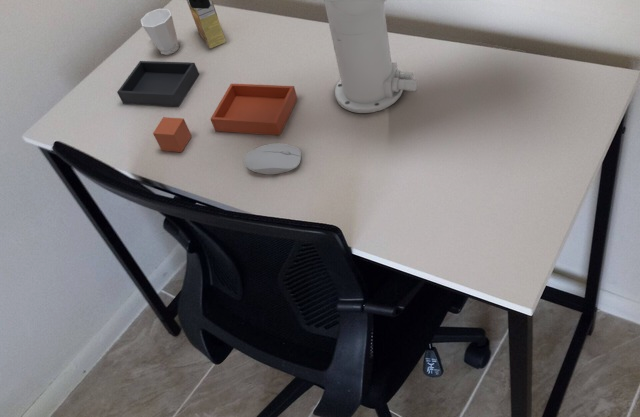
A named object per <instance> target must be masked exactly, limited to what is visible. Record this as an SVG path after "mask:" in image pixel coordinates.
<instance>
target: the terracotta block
mask: <svg viewBox="0 0 640 417" xmlns="http://www.w3.org/2000/svg"><path fill="white" fill-rule="evenodd" d="M152 134H153V137H154V139H155V141H156V143H157V144H158V146H159V148H160V150H161V151H165V152H175V153H183V152H184V150H185V148H186V146H187V145H188V142H189V141H190V140H191V138H192V133H191V131H190V129H189V127H188V124H187V123H186V121H185V119H184V118H181V117H166V116H164V117H162V118H161V120H160V121H159V123H158V125H157V126H156V127H155V129H154V130H153V132H152Z"/></svg>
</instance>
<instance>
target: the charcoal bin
mask: <svg viewBox="0 0 640 417" xmlns="http://www.w3.org/2000/svg"><path fill="white" fill-rule="evenodd" d="M199 76H200V71H199V70H198V68H197V65H196V62H186V61H184V62H183V61H155V60H152V61H151V60H139V61H138V63H137V64H136V65H135V67H134V68H133V69H132V71H131V72H130V74H129V75H128V77H126V79H125V81H124V82H123V84H121V86H120V87H119V89H118V90H117V91H116V92H117V96H119V99H120V101H121V102H122V104H124V105H141V106H143V105H144V106H157V107H158V106H159V107H176V108H179V107H180V106H181V104H182V102H183V101H184V99H185V97H187V95H188V93H189V92H190V90H191V89H192V87H193V85H194V84H195V82H196V81H197V79H198V77H199Z"/></svg>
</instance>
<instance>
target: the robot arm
mask: <svg viewBox="0 0 640 417" xmlns="http://www.w3.org/2000/svg"><path fill="white" fill-rule="evenodd" d="M323 2H324V7H325V12H326V17H327V21H328V26H329V32H330V36H331V41H332V46H333V50H334V54H335V59H336V65H337V69H338V73H339V80H338V82H337V83H336V85H335V88H334V95H335V99H336V102H337V104H338V105H339V106H340V107H342V108H343V109H344V110H346V111H349V112H352V113H358V114H371V113H376V112H379V111H383V110H385V109H387V108H389V107H390V106H392V105H393V104H395V103H396V102H397V101H398V100H399V99H400V98H401V96H402V95H403V92H404V91H406V92H407V91H408V92H409V91H411V92H416V91H417V90H418V89H417V88H418V80H417V79H414V72H412V71H405V72H404V71H401V70H398V63H397V62H393V61H392V56H391V55H392V54H391V49H390V48H391V47H390V40H389V32H388V26H387V20H386V9H385V2H387V0H323ZM189 3H190V5H191V7H192V8H202V9H208V8H209V7H210V6H211V5H210V1H209V0H189Z"/></svg>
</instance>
